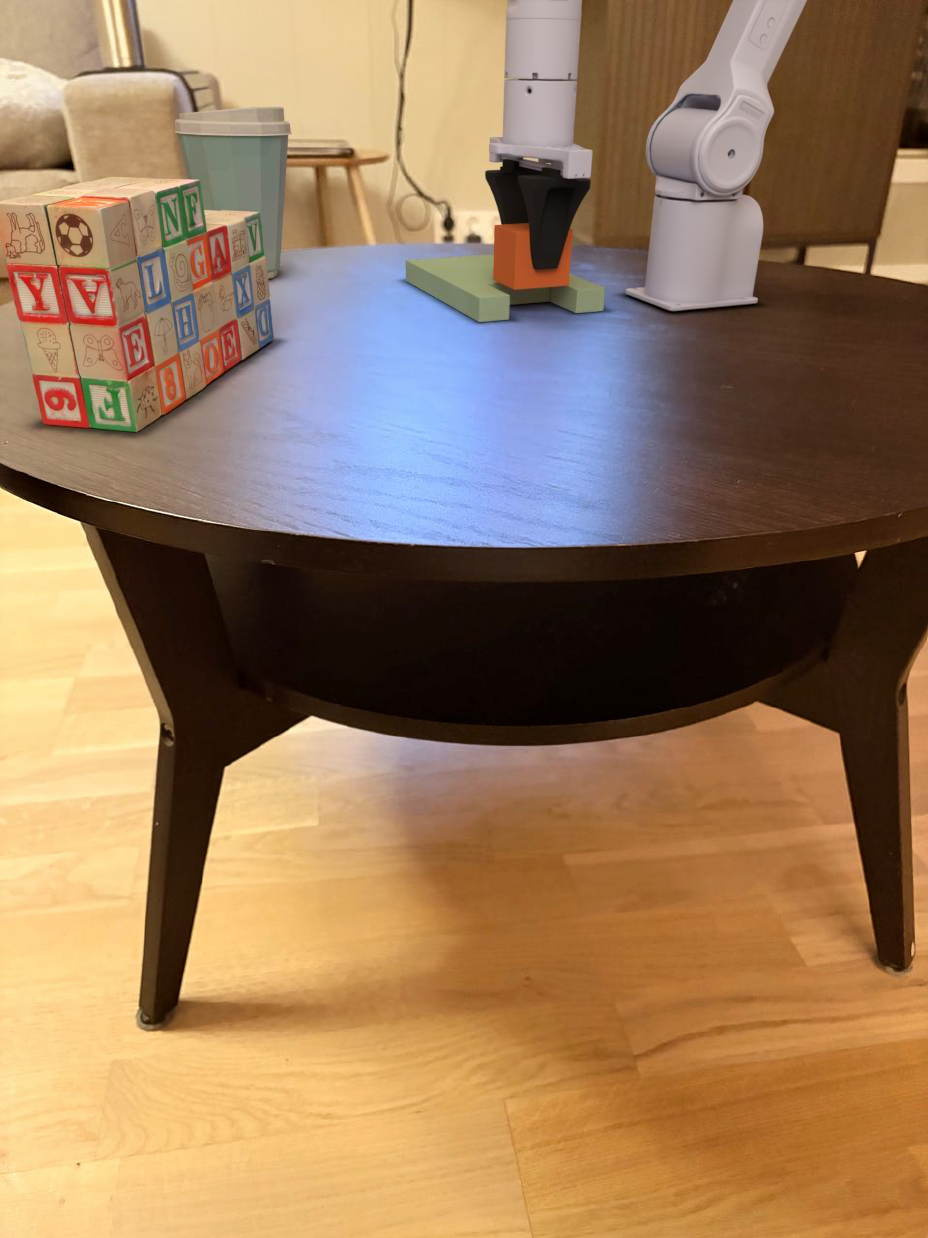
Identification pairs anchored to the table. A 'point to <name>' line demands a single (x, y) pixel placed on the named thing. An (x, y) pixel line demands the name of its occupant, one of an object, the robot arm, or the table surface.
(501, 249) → the orange cube
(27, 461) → the table surface
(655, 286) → the robot arm
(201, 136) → the disposable coffee cup
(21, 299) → the stack of blocks
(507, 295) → the base pad
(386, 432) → the table surface
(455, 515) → the table surface
